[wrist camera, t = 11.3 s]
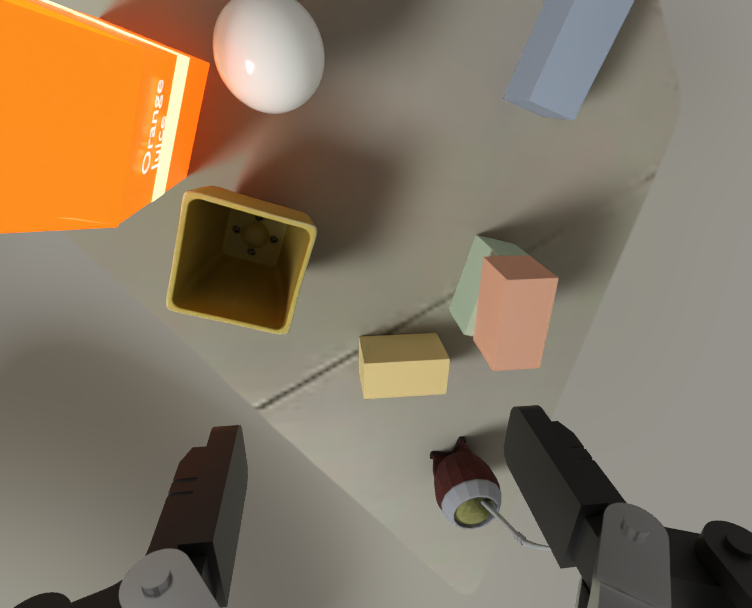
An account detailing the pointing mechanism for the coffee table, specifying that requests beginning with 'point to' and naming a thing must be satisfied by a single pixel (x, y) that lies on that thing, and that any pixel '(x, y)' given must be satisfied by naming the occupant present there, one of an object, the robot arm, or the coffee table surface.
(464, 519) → the mate gourd
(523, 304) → the terracotta brick
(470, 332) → the sage brick
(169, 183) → the orange juice
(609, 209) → the coffee table surface
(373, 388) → the ochre brick
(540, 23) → the slate brick
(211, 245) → the flower pot
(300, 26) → the lightbulb
